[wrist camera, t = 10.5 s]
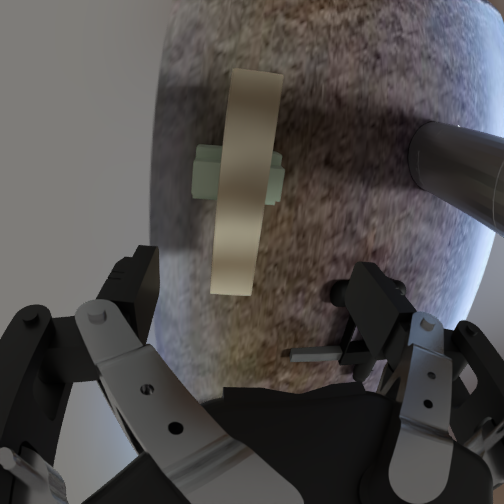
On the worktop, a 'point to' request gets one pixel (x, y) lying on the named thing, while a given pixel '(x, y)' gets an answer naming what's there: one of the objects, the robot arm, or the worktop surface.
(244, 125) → the bar
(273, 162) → the ridge
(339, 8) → the worktop surface
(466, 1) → the worktop surface
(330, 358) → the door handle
